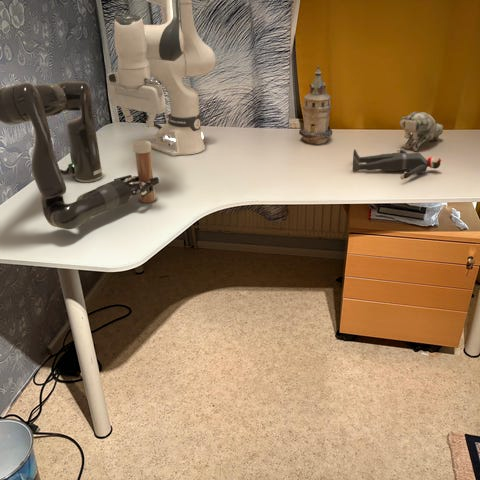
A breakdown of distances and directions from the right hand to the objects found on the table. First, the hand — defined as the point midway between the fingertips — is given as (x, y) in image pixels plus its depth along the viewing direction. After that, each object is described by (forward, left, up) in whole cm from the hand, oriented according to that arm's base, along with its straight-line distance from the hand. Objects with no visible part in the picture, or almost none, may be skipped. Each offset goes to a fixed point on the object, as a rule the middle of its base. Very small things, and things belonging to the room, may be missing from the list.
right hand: (139, 124), depth 160 cm
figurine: (+56, +97, -25) cm, 115 cm away
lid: (0, 0, -6) cm, 6 cm away
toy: (+57, +67, -25) cm, 91 cm away
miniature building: (+18, +81, -25) cm, 86 cm away
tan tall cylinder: (0, 0, -25) cm, 25 cm away
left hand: (0, +3, -18) cm, 19 cm away
